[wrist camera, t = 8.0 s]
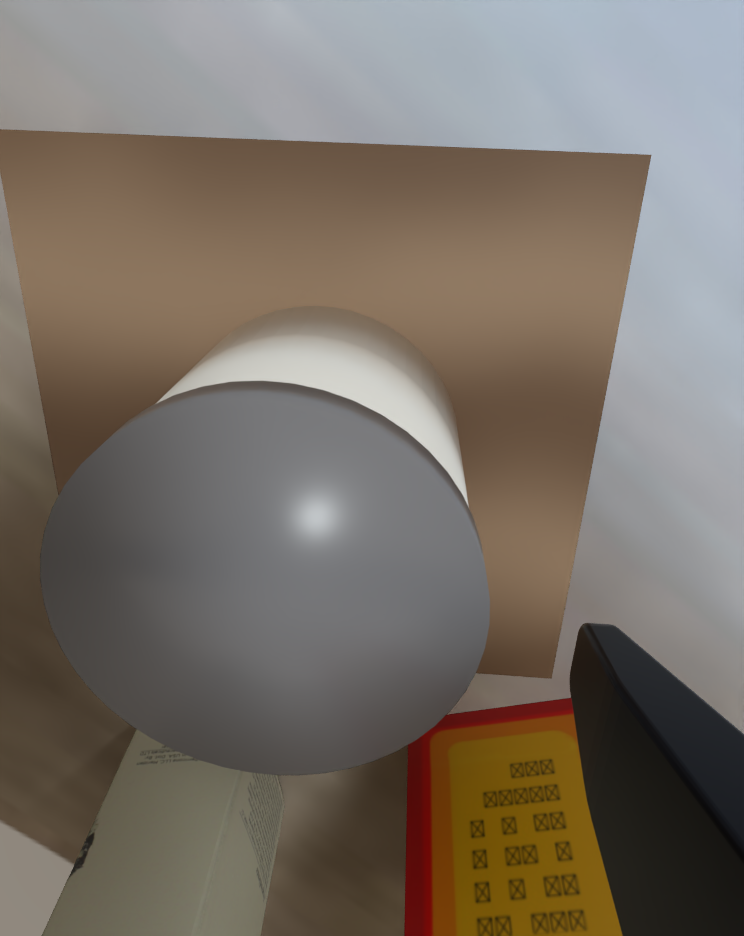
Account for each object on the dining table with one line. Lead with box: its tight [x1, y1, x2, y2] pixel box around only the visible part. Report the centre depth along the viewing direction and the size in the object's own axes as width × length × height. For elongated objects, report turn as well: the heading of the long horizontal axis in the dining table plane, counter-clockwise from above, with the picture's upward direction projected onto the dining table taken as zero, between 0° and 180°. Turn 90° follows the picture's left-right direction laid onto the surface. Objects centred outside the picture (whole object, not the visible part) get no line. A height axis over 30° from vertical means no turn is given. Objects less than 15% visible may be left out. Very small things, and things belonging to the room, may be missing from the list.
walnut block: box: [0, 129, 651, 678], centre depth 17 cm, size 12×12×4 cm
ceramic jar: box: [40, 306, 490, 775], centre depth 12 cm, size 6×6×6 cm
